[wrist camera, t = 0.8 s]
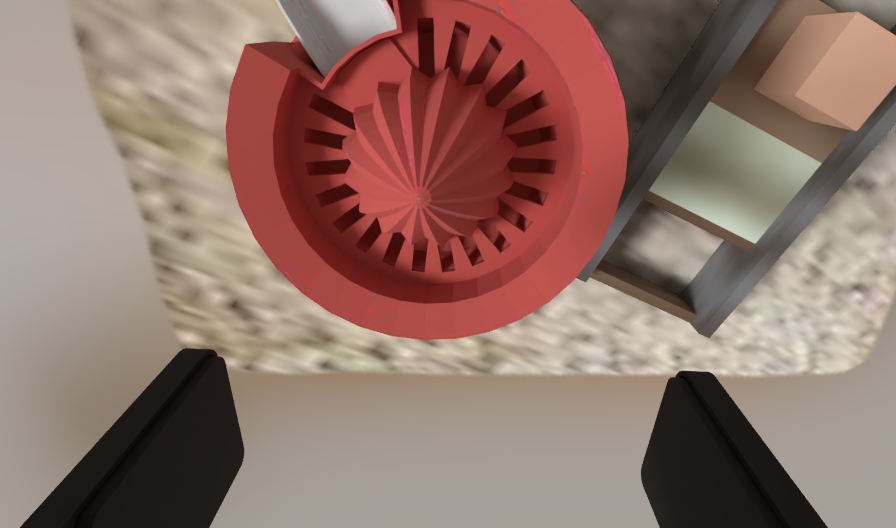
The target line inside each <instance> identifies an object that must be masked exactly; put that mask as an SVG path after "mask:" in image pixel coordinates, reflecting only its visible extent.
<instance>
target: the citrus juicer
mask: <svg viewBox="0 0 896 528" xmlns="http://www.w3.org/2000/svg"><path fill="white" fill-rule="evenodd" d="M276 2H277V4H278V6H279V8H280V10H281V11H282V13H283V15H284V16H285V18H286V20H287V21H288V23H289V24H290V26H291V28H292V29H293V31H294V32H295V34H296V37H295V38H294V40H293V41H292V42H291V43H289V42H264V43H254V44H246V45H245V47H244V50H243V52H242V55H241V58H240V61H239V64H238V67H237V70H236V73H235V76H234V79H233V82H232V85H231V88H230V97H229V105H228V113H227V122H226V139H227V152H228V165H229V171H230V174H231V178H232V182H233V185H234V189H235V193H236V196H237V200H238V203H239V206H240V208H241V210H242V212H243V215H244V217H245V219H246V221H247V223H248V225H249V227H250V229H251V231H252V233H253V235H254V237H255V239H256V240H257V242H258V243H259V245H260V246H261V247H262V249H263V250H264V252H265V253H266V254H267V256H268V257H269V258H270V260H271V261H272V263H273V264H274V265H275V267H276V268H277V269H278V270H279V271H280V272H281V273H282V274H283V275H284V276H285V277H286V278H287V279H288V280H289V281H290V282H291V283H292V284H293V285H294V286H295V287H296V288H297V289H298V290H299V291H300V292H301V293H303V294H304V295H306V296H307V297H309V298H310V299H311V300H313V301H314V302H316V303H317V304H319V305H320V306H322V307H323V308H324V309H326V310H327V311H329V312H330V313H332V314H335V315H337V316H339V317H341V318H343V319H345V320H347V321H349V322H351V323H353V324H356V325H358V326H360V327H363V328H366V329H370V330H373V331H377V332H380V333H384V334H387V335H390V336H397V337H405V338H413V339H422V340H433V339H456V338H462V337H467V336H471V335H476V334H481V333H486V332H490V331H492V330H495V329H498V328H500V327H503V326H505V325H508V324H510V323H513V322H515V321H518V320H520V319H522V318H524V317H525V316H527V315H528V314H530V313H532V312H533V311H535V310H537V309H538V308H540V307H542V306H543V305H545V304H546V303H548V302H550V301H551V300H552V299H553V298H554V297H555V296H556V295H557V294H559V293H560V292H561V291H562V290H563V289H564V288H565V287H567V286H568V285H569V284H570V283H571V282H572V281H573V280H574V279H575V278H576V277H577V276H578V275H579V273H580V272H581V271H582V269H583V268H584V267H585V266H586V264H587V263H588V262H589V261H590V259H591V258H592V257H593V255H594V254H595V253H596V252H597V250H598V248H599V246H600V244H601V242H602V240H603V238H604V237H605V235H606V233H607V231H608V229H609V227H610V225H611V223H612V221H613V219H614V217H615V213H616V210H617V207H618V203H619V200H620V197H621V193H622V190H623V187H624V183H625V179H626V168H627V158H628V147H629V135H628V125H627V116H626V107H625V99H624V95H623V92H622V89H621V86H620V83H619V80H618V77H617V74H616V71H615V67H614V64H613V61H612V58H611V56H610V55H609V53H608V51H607V49H606V48H605V46H604V44H603V42H602V41H601V39H600V37H599V36H598V34H597V32H596V30H595V29H594V27H593V25H592V23H591V22H590V20H589V19H588V17H587V16H586V15H585V14H584V13H583V12H582V11H581V10H580V9H579V8H578V7H577V5H576V4H575V3H574V2H573V1H572V0H276Z"/></svg>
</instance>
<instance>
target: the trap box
mask: <svg viewBox="0 0 896 528" xmlns="http://www.w3.org/2000/svg"><path fill="white" fill-rule="evenodd" d="M835 13H839V12H837V11H836V10H834V9H833V8H831V7H829V6H828V5H826V4H825V3H823V2H821V1H820V0H722V1H721V2H720V4H719V5H718V7H717V9H716V10H715V12H714V13H713V15H712V16H711V18H710V20H709V21H708V23H707V24H706V26H705V27H704V29H703V31H702V32H701V34H700V35H699V37H698V38H697V40H696V42H695V43H694V45H693V46H692V48H691V50H690V51H689V53H688V54H687V56H686V57H685V59H684V61H683V62H682V64H681V65H680V67H679V68H678V70H677V72H676V73H675V75H674V76H673V78H672V79H671V81H670V83H669V84H668V86H667V87H666V89H665V90H664V92H663V94H662V95H661V97H660V98H659V100H658V101H657V103H656V105H655V106H654V108H653V109H652V111H651V113H650V114H649V116H648V117H647V119H646V120H645V122H644V124H643V125H642V127H641V128H640V130H639V131H638V133H637V135H636V136H635V138H634V139H633V141H632V142H631V144H630V146H629V147H628V158H627V168H626V179H625V183H624V187H623V190H622V193H621V197H620V200H619V203H618V207H617V210H616V213H615V217H614V219H613V221H612V223H611V225H610V227H609V229H608V231H607V233H606V235H605V237H604V238H603V240H602V242H601V244H600V246H599V248H598V250H597V252H596V253H595V254H594V255H593V257H592V258H591V259H590V261H589V262H588V263H587V264H586V266H585V267H584V268H583V269H582V271H581V272H580V273H579V275H578V276H577V277H576V278H577V279H580V280H582V281H584V282H587V280H588V279H589V277H591V278H593V279H595V280H597V281H600V282H602V283H604V284H606V285H608V286H611V287H613V288H615V289H617V290H619V291H622V292H624V293H626V294H628V295H630V296H632V297H635V298H637V299H639V300H641V301H643V302H646V303H648V304H650V305H652V306H654V307H657V308H659V309H661V310H663V311H665V312H668V313H670V314H672V315H674V316H676V317H679V318H681V319H683V320H685V321H687V322H690V323H691V325H692V326H693V327H694V328H695V330H696V331H697V332H698V333H699V334H701V335H703V336H706V337H708V338H710V337H711V335H712V334H713V333H714V332H715V331H716V330H717V329H718V327H719V326H720V325H721V324H722V323H723V322H724V321H725V319H726V318H727V317H728V316H729V315H730V314H731V312H732V311H733V310H734V309H735V308H736V307H737V306H738V304H739V303H740V302H741V301H742V300H743V299H744V297H745V296H746V295H747V294H748V293H749V292H750V291H751V289H752V288H753V287H754V286H755V285H756V284H757V282H758V281H759V280H760V279H761V278H762V277H763V276H764V274H765V273H766V272H767V271H768V270H769V269H770V267H771V266H772V265H773V264H774V263H775V262H776V261H777V259H778V258H779V257H780V256H781V255H782V254H783V252H784V251H785V250H786V249H787V248H788V247H789V246H790V244H791V243H792V242H793V241H794V240H795V239H796V238H797V236H798V235H799V234H800V233H801V232H802V231H803V229H804V228H805V227H806V226H807V225H808V224H809V223H810V221H811V220H812V219H813V218H814V217H815V216H816V214H817V213H818V212H819V211H820V210H821V209H822V208H823V206H824V205H825V204H826V203H827V202H828V201H829V199H830V198H831V197H832V196H833V195H834V194H835V193H836V191H837V190H838V189H839V188H840V187H841V186H842V184H843V183H844V182H845V181H846V180H847V179H848V178H849V176H850V175H851V174H852V173H853V172H854V171H855V169H856V168H857V167H858V166H859V165H860V164H861V163H862V161H863V160H864V159H865V158H866V157H867V156H868V154H869V153H870V152H871V151H872V150H873V149H874V148H875V146H876V145H877V144H878V143H879V142H880V141H881V140H882V138H883V137H884V136H885V135H886V134H887V133H888V131H889V130H890V129H891V128H892V127H893V126H894V125H895V123H896V85H895V86H894V87H893V89H892V90H891V91H890V92H889V93H888V95H887V96H886V97H885V98H884V99H883V101H882V102H881V103H880V104H879V105H878V107H877V108H876V109H875V110H874V111H873V113H872V114H871V115H870V116H869V117H868V119H867V120H866V121H865V122H864V123H863V124H862V126H861V127H860V128H859V129H858V130H857V131H853V130H848V129H844V128H839V127H835V126H830V125H826V124H821V123H817V122H812V121H809V120H807V119H805V118H803V117H802V116H800V115H798V114H796V113H795V112H793V111H791V110H789V109H787V108H786V107H784V106H782V105H780V104H779V103H777V102H775V101H773V100H772V99H770V98H768V97H766V96H765V95H763V94H761V93H759V92H758V91H756V90H754V88H755V86H756V85H757V83H758V82H759V81H760V79H761V78H762V76H763V75H764V74H765V72H766V71H767V69H768V68H769V67H770V65H771V64H772V62H773V61H774V60H775V58H776V57H777V55H778V54H779V53H780V51H781V50H782V48H783V47H784V46H785V44H786V43H787V41H788V40H789V39H790V37H791V36H792V34H793V33H794V32H795V30H796V29H797V27H798V26H799V25H800V23H801V22H802V20H803V19H804V18H805V16H810V15H823V14H835ZM890 32H891V33H892V34H894V35H896V25H895V26H894V28H893V29H892V30H891V31H890ZM642 199H643V200H645V201H647V202H649V203H651V204H653V205H655V206H657V207H659V208H661V209H663V210H665V211H667V212H669V213H671V214H673V215H675V216H677V217H680V218H682V219H684V220H686V221H688V222H690V223H692V224H694V225H696V226H698V227H700V228H702V229H704V230H706V231H708V232H710V233H712V234H714V235H716V236H718V237H720V238H722V239H724V241H723V243H722V244H721V245H720V246H719V248H718V249H717V250H716V251H715V253H714V254H713V255H712V256H711V258H710V259H709V260H708V261H707V263H706V264H705V265H704V266H703V268H702V269H701V270H700V271H699V273H698V274H697V275H696V277H695V278H694V279H693V280H692V282H691V283H690V284H689V285H688V287H687V288H686V289H685V290H684V292H683V293H682V294H681V295H680V296H679V295H677V294H675V293H672V292H670V291H668V290H666V289H664V288H662V287H660V286H657V285H655V284H653V283H651V282H649V281H647V280H644V279H642V278H640V277H638V276H636V275H634V274H632V273H629V272H627V271H625V270H623V269H621V268H619V267H616V266H614V265H612V264H610V263H608V262H606V261H604V260H602V258H603V257H604V255H605V254H606V252H607V251H608V249H609V248H610V246H611V245H612V243H613V242H614V241H615V239H616V238H617V236H618V235H619V233H620V232H621V230H622V229H623V227H624V226H625V224H626V223H627V221H628V220H629V219H630V217H631V216H632V214H633V213H634V211H635V210H636V208H637V207H638V205H639V204H640V202H641V201H642Z"/></svg>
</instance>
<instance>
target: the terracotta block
mask: <svg viewBox="0 0 896 528" xmlns="http://www.w3.org/2000/svg"><path fill="white" fill-rule="evenodd" d="M895 85H896V35H894V34H892V33H891V32H889V31H888V30H886V29H885V28H883V27H881V26H880V25H878V24H877V23H875V22H873V21H872V20H870V19H869V18H867V17H866V16H864V15H862V14H861V13H859V12H847V13H835V14H823V15H810V16H805V18H804V19H803V20H802V22H801V23H800V25H799V26H798V27H797V29H796V30H795V32H794V33H793V34H792V36H791V37H790V39H789V40H788V41H787V43H786V44H785V46H784V47H783V48H782V50H781V51H780V53H779V54H778V55H777V57H776V58H775V60H774V61H773V62H772V64H771V65H770V67H769V68H768V69H767V71H766V72H765V74H764V75H763V76H762V78H761V79H760V81H759V82H758V83H757V85H756V86H755V88H754V90H756V91H758V92H759V93H761V94H763V95H765V96H766V97H768V98H770V99H772V100H773V101H775V102H777V103H779V104H780V105H782V106H784V107H786V108H787V109H789V110H791V111H793V112H795V113H796V114H798V115H800V116H802V117H803V118H805V119H807V120H809V121H812V122H817V123H821V124H826V125H830V126H835V127H839V128H844V129H848V130H853V131H857V130H858V129H859V128H860V127H861V126H862V124H863V123H864V122H865V121H866V120H867V119H868V117H869V116H870V115H871V114H872V113H873V111H874V110H875V109H876V108H877V107H878V105H879V104H880V103H881V102H882V101H883V99H884V98H885V97H886V96H887V95H888V93H889V92H890V91H891V90H892V89H893V87H894V86H895Z"/></svg>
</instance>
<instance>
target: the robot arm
mask: <svg viewBox="0 0 896 528" xmlns="http://www.w3.org/2000/svg"><path fill="white" fill-rule="evenodd" d="M243 458H244V446H243V441H242V436H241V432H240V427H239V423H238V418H237V414H236V410H235V405H234V400H233V396H232V391H231V386H230V382H229V377H228V373H227V368H226V364H225V361H224V359H223V358H222V357H218V356H217V353H216V352H215V351H214V350H211V349H191V348H185V349H182V350H181V351H180V352H179V353H178V354H177V355H176V356H175V357H174V358H173V359H172V360H171V362H170V363H169V364H168V365H167V366H166V367H165V368H164V369H163V370H162V372H161V373H160V374H159V375H158V376H157V377H156V378H155V379H154V380H153V381H152V382H151V384H150V385H149V386H148V387H147V388H146V389H145V390H144V391H143V393H142V394H141V395H140V396H139V397H138V398H137V399H136V400H135V401H134V402H133V403H132V405H131V406H130V407H129V408H128V409H127V410H126V411H125V412H124V413H123V414H122V416H121V417H120V418H119V419H118V420H117V421H116V422H115V423H114V424H113V425H112V427H111V428H110V429H109V430H108V431H107V432H106V433H105V434H104V435H103V437H102V438H101V439H100V440H99V441H98V442H97V443H96V444H95V445H94V447H93V448H92V449H91V450H90V451H89V452H88V453H87V454H86V455H85V456H84V457H83V459H82V460H81V461H80V462H79V463H78V464H77V465H76V466H75V467H74V468H73V470H72V471H71V472H70V473H69V474H68V475H67V476H66V477H65V478H64V480H63V481H62V482H61V483H60V484H59V485H58V486H57V487H56V488H55V489H54V491H53V492H52V493H51V494H50V495H49V496H48V497H47V498H46V499H45V501H44V502H43V503H42V504H41V505H40V506H39V507H38V508H37V509H36V510H35V511H34V513H33V514H32V515H31V516H30V517H29V518H28V519H27V520H26V521H25V522H24V524H23V525H22V526H21V527H20V528H209V527H210V525H211V523H212V521H213V519H214V517H215V515H216V513H217V511H218V509H219V507H220V505H221V504H222V502H223V500H224V498H225V496H226V494H227V492H228V490H229V488H230V486H231V485H232V483H233V480H234V479H235V477H236V475H237V473H238V471H239V469H240V467H241V465H242V462H243ZM641 479H642V484H643V487H644V489H645V492H646V494H647V497H648V499H649V502H650V504H651V507H652V509H653V512H654V514H655V517H656V519H657V522H658V524H659V526H660V528H828V527H827V526H826V525H825V523H824V522H823V520H822V519H821V518H820V516H819V515H818V514H817V512H816V511H815V510H814V508H813V507H812V506H811V505H810V503H809V502H808V500H807V499H806V498H805V496H804V495H803V494H802V493H801V491H800V490H799V488H798V487H797V486H796V484H795V483H794V482H793V480H792V479H791V478H790V476H789V475H788V474H787V472H786V471H785V470H784V468H783V467H782V466H781V464H780V463H779V462H778V460H777V459H776V458H775V456H774V455H773V453H772V452H771V451H770V450H769V448H768V447H767V446H766V444H765V443H764V441H763V440H762V439H761V437H760V436H759V435H758V433H757V432H756V431H755V429H754V428H753V427H752V425H751V424H750V423H749V421H748V420H747V419H746V417H745V416H744V415H743V413H742V412H741V411H740V409H739V408H738V407H737V405H736V404H735V403H734V401H733V400H732V398H731V397H730V396H729V394H728V393H727V392H726V390H725V389H724V388H723V387H722V385H721V384H720V382H719V381H718V380H717V378H716V377H715V376H714V375H713V374H712V373H710V372H699V371H680V372H679V373H678V374H677V375H676V377H675V378H674V377H672V378H670V379H669V380H668V382H667V385H666V389H665V392H664V395H663V398H662V402H661V405H660V408H659V412H658V415H657V418H656V422H655V425H654V428H653V431H652V434H651V438H650V441H649V444H648V448H647V451H646V454H645V457H644V461H643V464H642V468H641Z"/></svg>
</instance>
